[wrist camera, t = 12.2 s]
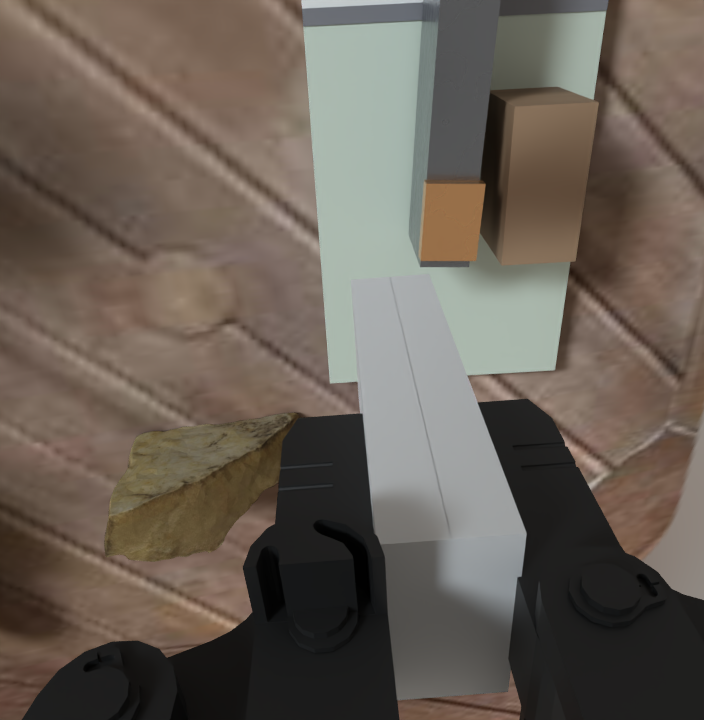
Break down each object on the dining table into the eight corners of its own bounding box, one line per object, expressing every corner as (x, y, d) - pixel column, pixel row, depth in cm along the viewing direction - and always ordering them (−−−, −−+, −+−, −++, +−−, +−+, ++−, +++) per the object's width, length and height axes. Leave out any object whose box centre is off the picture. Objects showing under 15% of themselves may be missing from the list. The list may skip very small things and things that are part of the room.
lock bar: (421, -262, 20) (445, -327, 16) (518, -259, 20) (566, -322, 16) (395, 234, 28) (406, 272, 24) (464, 234, 28) (487, 272, 24)
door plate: (260, -577, 18) (255, -624, 16) (672, -594, 18) (700, -642, 17) (329, 368, 34) (329, 383, 33) (546, 356, 34) (555, 370, 33)
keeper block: (486, 90, 26) (514, 106, 22) (557, 86, 26) (599, 102, 22) (477, 229, 29) (501, 265, 25) (541, 226, 29) (575, 261, 25)
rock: (330, 395, 32) (130, 369, 29) (323, 568, 29) (97, 557, 26) (284, 442, 42) (130, 426, 39) (275, 576, 39) (106, 569, 36)
